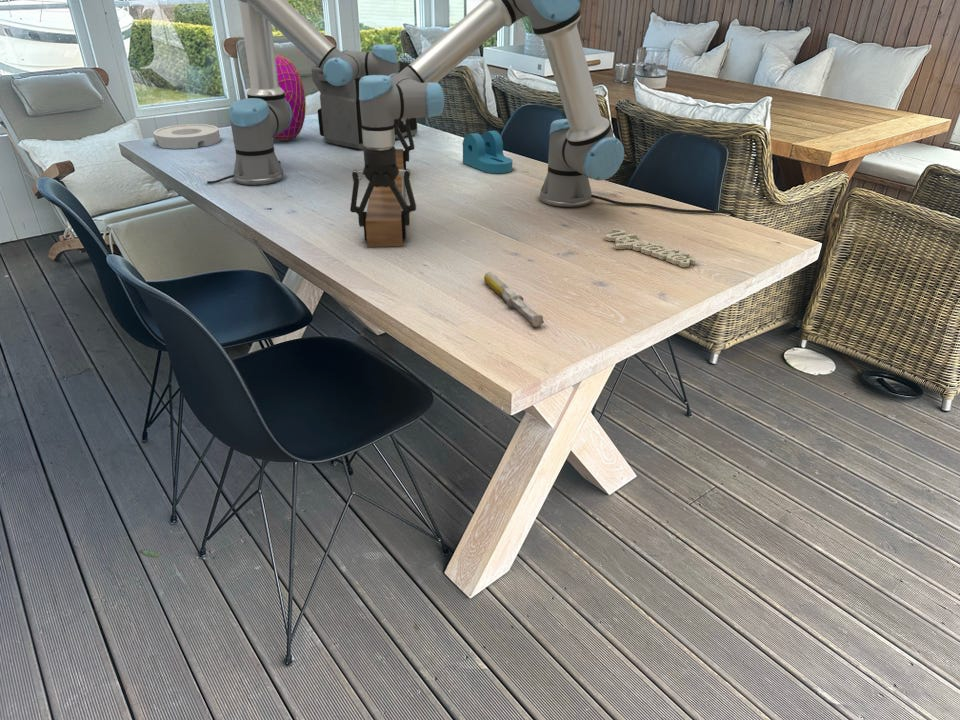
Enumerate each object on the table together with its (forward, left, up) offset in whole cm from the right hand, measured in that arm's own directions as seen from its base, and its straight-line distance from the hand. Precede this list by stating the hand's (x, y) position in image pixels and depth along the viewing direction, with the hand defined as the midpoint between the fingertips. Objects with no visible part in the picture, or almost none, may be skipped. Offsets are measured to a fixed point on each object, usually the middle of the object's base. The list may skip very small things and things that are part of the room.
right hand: (385, 237), depth 173 cm
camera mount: (+5, -76, -1) cm, 76 cm away
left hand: (+31, -53, 0) cm, 62 cm away
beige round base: (+122, -56, -1) cm, 134 cm away
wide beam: (+16, -27, 0) cm, 31 cm away
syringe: (-43, +19, -1) cm, 47 cm away
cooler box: (+64, -92, -1) cm, 112 cm away
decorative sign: (-61, -23, -1) cm, 65 cm away
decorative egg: (+92, -74, -1) cm, 118 cm away
